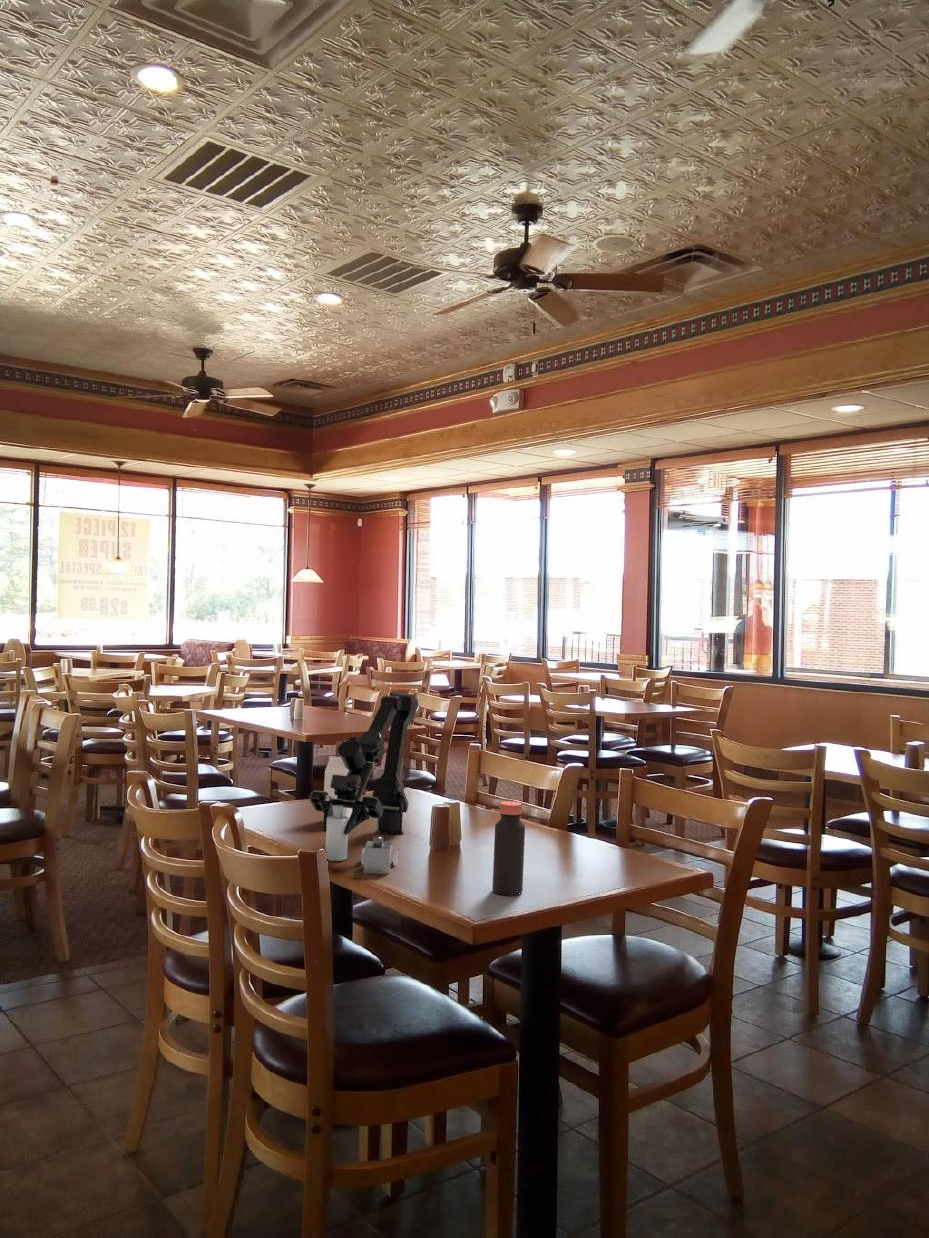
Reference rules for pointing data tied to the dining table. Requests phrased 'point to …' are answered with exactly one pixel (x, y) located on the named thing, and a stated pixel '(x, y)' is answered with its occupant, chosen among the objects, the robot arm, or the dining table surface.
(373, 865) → the motor
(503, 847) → the bottle
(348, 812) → the milk carton
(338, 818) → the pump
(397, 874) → the dining table surface
